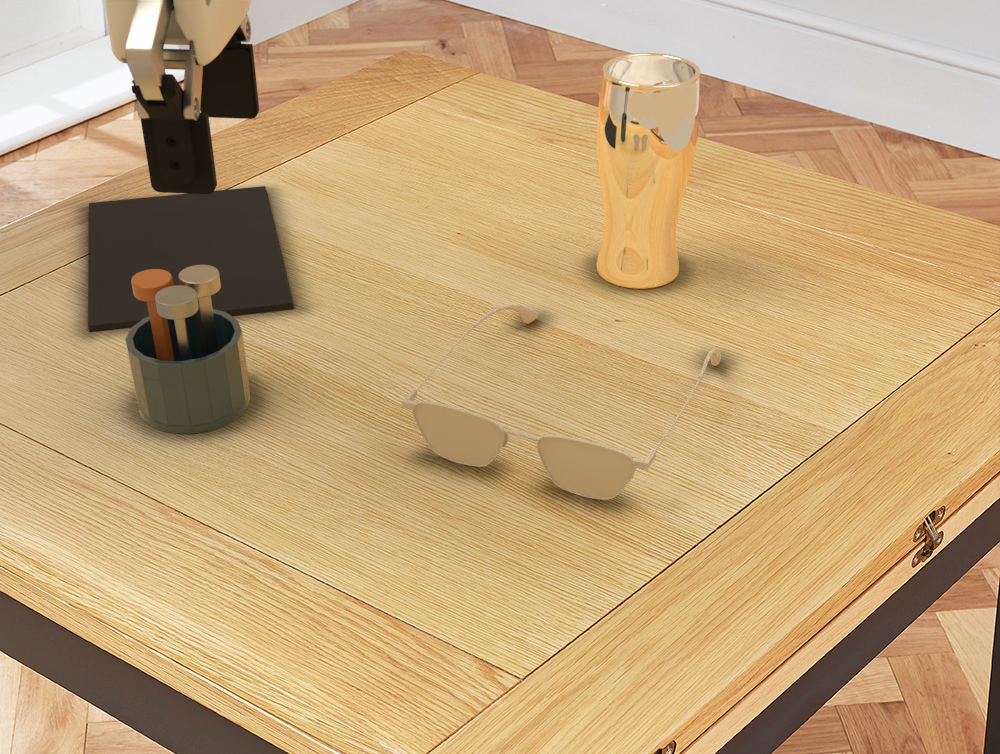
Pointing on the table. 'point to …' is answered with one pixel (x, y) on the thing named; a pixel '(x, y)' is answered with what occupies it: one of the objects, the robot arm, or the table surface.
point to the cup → (190, 378)
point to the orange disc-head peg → (145, 290)
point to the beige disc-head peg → (203, 302)
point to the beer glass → (644, 164)
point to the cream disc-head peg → (178, 312)
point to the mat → (185, 252)
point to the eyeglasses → (562, 456)
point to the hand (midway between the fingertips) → (209, 151)
